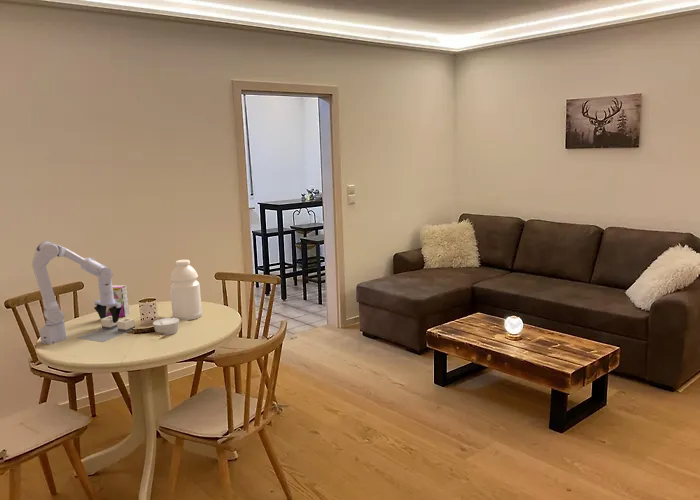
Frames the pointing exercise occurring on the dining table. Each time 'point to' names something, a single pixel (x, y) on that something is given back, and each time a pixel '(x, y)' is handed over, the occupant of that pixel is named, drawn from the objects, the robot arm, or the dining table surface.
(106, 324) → the sleeve
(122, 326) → the seated sleeve
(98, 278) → the robot arm
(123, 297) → the candy bar box
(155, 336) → the dining table surface
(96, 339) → the pin board
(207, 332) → the dining table surface
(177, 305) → the bottle
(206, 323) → the dining table surface
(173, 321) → the ramekin
